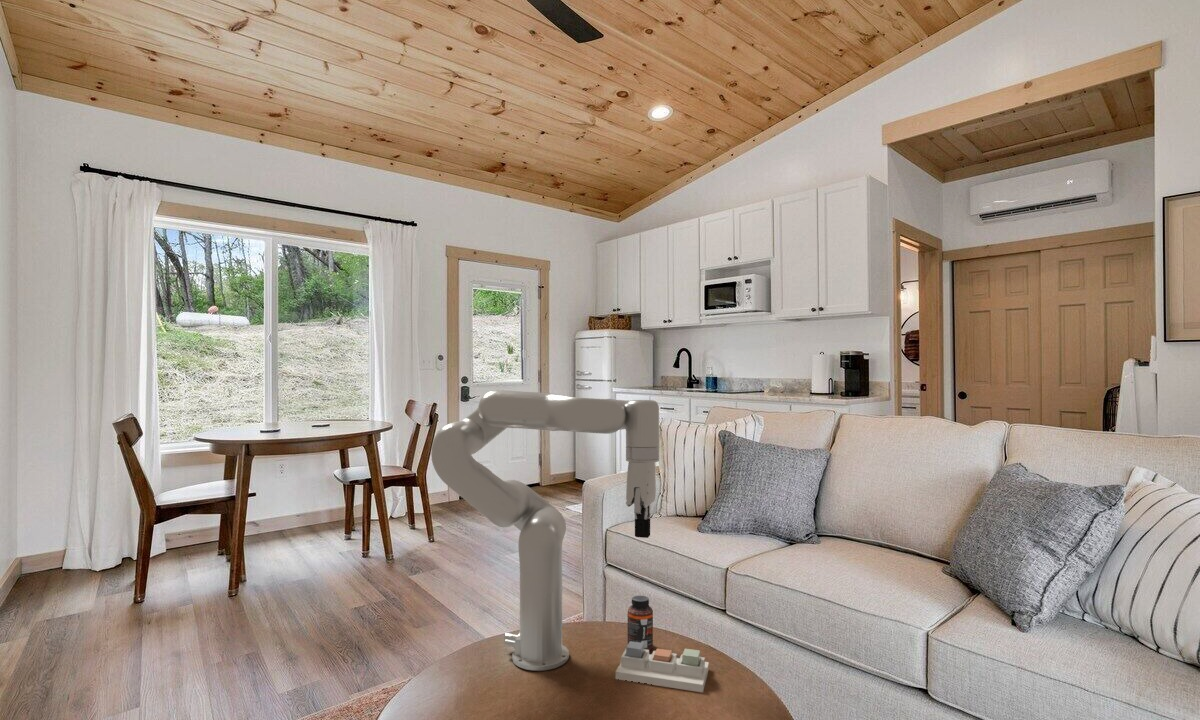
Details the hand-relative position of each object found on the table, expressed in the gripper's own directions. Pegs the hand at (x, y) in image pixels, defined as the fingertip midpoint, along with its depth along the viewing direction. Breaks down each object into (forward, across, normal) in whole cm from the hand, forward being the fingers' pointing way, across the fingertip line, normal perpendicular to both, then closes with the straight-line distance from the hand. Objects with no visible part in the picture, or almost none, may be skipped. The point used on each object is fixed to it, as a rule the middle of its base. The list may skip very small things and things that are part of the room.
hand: (642, 536), depth 129 cm
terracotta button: (+25, +5, +5) cm, 26 cm away
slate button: (+24, +5, 0) cm, 25 cm away
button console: (+27, +5, +6) cm, 28 cm away
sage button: (+24, +5, +12) cm, 27 cm away
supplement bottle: (+27, -6, -2) cm, 28 cm away
